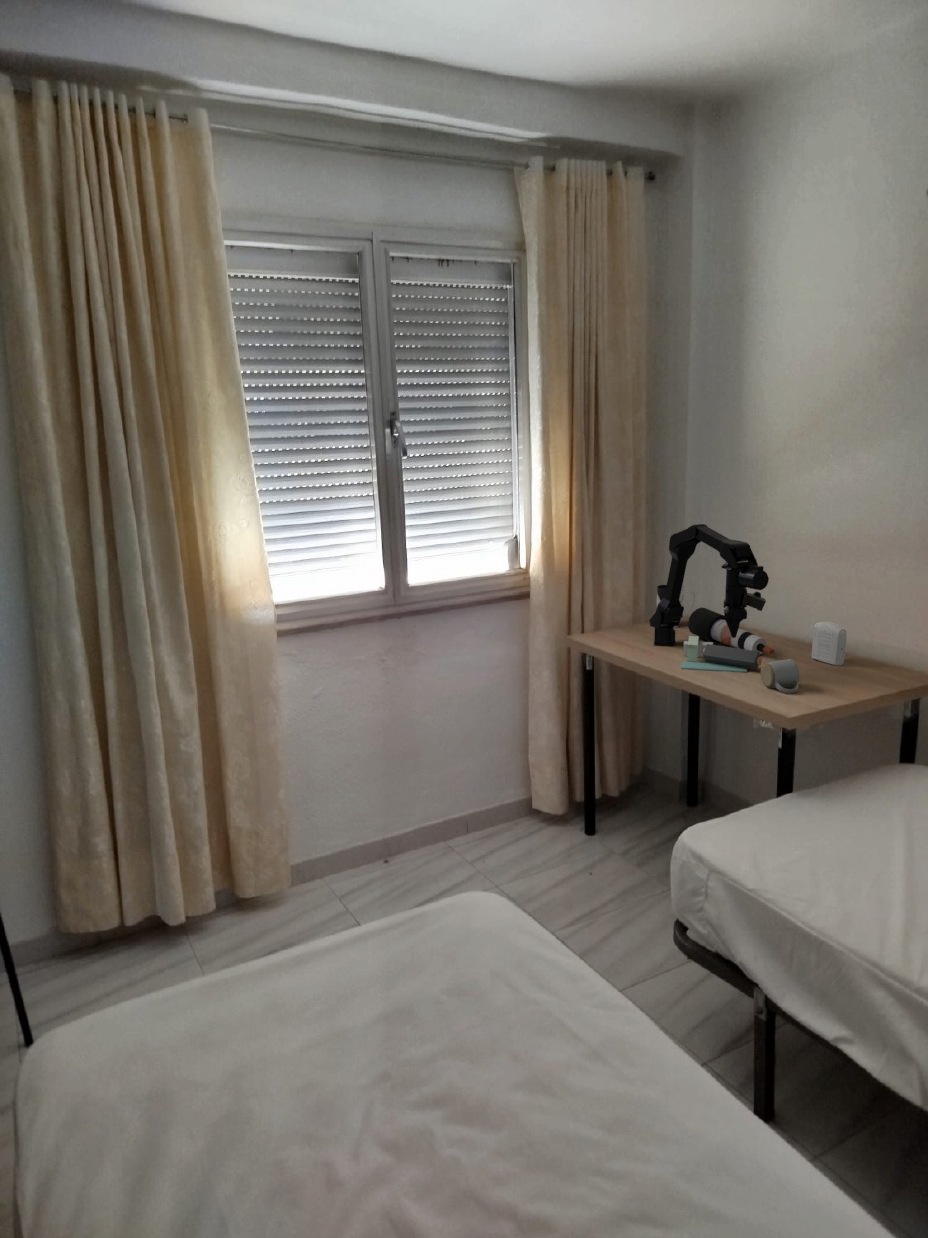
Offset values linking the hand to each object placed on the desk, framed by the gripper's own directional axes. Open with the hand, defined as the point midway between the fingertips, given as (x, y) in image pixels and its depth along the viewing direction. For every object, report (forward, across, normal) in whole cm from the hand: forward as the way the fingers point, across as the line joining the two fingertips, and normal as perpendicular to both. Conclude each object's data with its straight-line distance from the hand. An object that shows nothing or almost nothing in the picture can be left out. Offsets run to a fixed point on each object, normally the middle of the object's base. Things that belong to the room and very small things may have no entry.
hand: (733, 636), depth 240 cm
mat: (+10, 0, +5) cm, 11 cm away
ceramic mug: (+10, -18, -13) cm, 24 cm away
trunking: (+10, +13, +10) cm, 20 cm away
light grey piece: (+10, +10, +12) cm, 19 cm away
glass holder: (+10, +53, +19) cm, 58 cm away
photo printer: (+10, +13, -28) cm, 33 cm away
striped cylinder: (+10, +26, -1) cm, 28 cm away
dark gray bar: (+8, +3, 0) cm, 9 cm away
